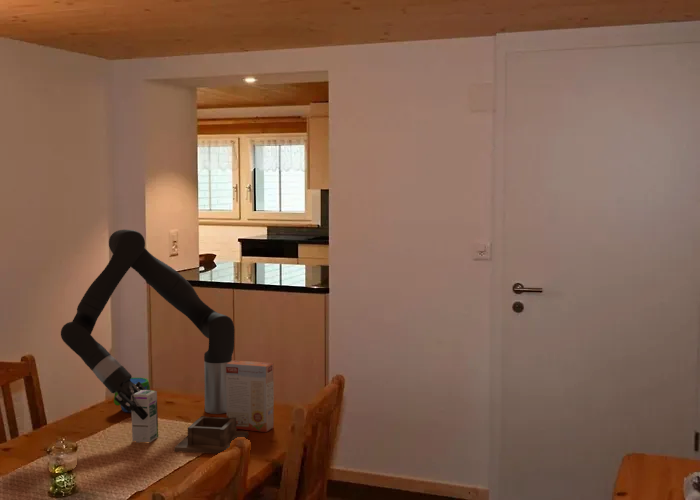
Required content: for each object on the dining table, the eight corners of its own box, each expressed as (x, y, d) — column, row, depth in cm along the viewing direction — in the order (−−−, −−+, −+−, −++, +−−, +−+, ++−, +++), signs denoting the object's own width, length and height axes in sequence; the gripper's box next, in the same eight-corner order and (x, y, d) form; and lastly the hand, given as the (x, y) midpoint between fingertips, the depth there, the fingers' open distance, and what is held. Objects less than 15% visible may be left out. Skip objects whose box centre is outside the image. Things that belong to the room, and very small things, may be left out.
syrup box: (149, 443, 221) (149, 395, 220) (131, 442, 223) (130, 394, 222) (158, 437, 227) (157, 390, 226) (140, 436, 228) (139, 389, 227)
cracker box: (274, 427, 237) (274, 362, 236) (266, 433, 232) (266, 366, 230) (235, 423, 242) (234, 359, 240) (225, 428, 236) (225, 362, 235)
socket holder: (195, 432, 231) (194, 413, 231) (248, 435, 229) (248, 415, 229) (174, 451, 215) (174, 430, 214) (231, 454, 212) (231, 433, 212)
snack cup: (139, 402, 265) (138, 374, 265) (160, 407, 260) (160, 378, 259) (103, 413, 252) (103, 383, 251) (125, 418, 246) (125, 387, 246)
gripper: (109, 370, 217) (148, 413, 216) (130, 360, 231) (168, 399, 231) (92, 388, 218) (131, 430, 217) (114, 376, 233) (151, 416, 232)
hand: (150, 414), depth 224 cm, fingers closed on syrup box, 6 cm apart
